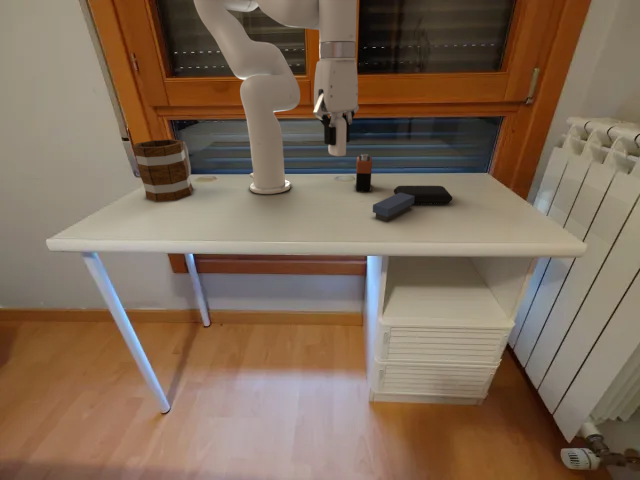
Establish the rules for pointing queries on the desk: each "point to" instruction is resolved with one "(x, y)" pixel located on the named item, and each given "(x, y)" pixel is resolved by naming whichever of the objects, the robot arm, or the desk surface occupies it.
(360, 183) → the battery
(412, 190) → the carrying case
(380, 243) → the desk surface
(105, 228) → the desk surface
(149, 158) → the mug
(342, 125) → the eye dropper bottle
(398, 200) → the navy rectangular block
